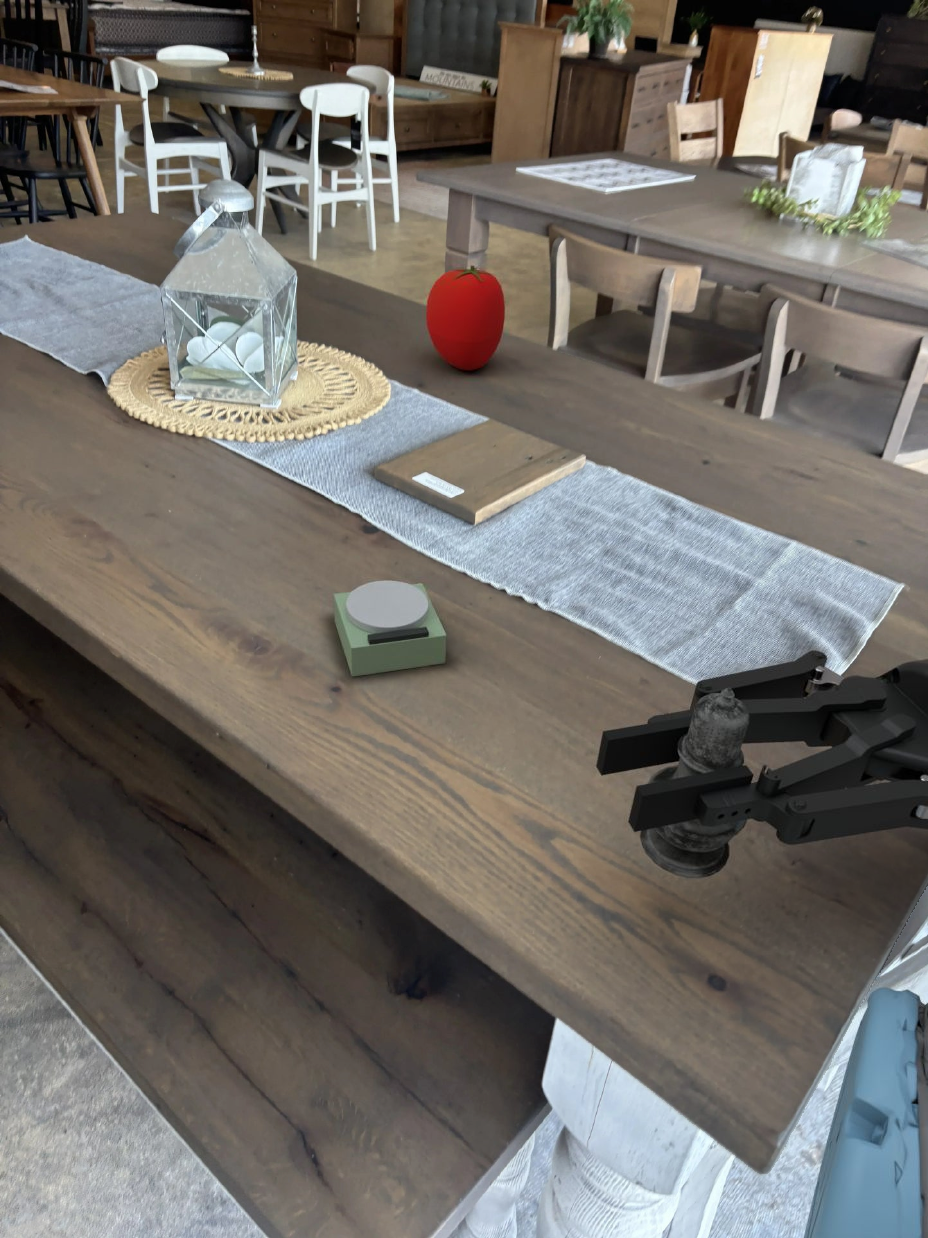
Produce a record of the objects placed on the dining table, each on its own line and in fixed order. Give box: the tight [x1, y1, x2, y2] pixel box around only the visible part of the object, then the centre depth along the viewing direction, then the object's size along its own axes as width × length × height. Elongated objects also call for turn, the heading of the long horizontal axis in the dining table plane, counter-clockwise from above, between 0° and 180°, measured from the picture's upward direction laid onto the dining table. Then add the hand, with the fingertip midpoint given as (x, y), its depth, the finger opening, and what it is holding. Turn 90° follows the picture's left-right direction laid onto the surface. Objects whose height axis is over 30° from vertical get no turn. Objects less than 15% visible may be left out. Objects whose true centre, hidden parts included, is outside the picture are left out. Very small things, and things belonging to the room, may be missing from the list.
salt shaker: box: [639, 688, 749, 879], centre depth 51 cm, size 6×6×12 cm
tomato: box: [425, 264, 506, 371], centre depth 131 cm, size 13×11×14 cm
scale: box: [333, 580, 448, 677], centre depth 78 cm, size 8×8×4 cm
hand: (619, 780), depth 49 cm, fingers closed on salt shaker, 4 cm apart
